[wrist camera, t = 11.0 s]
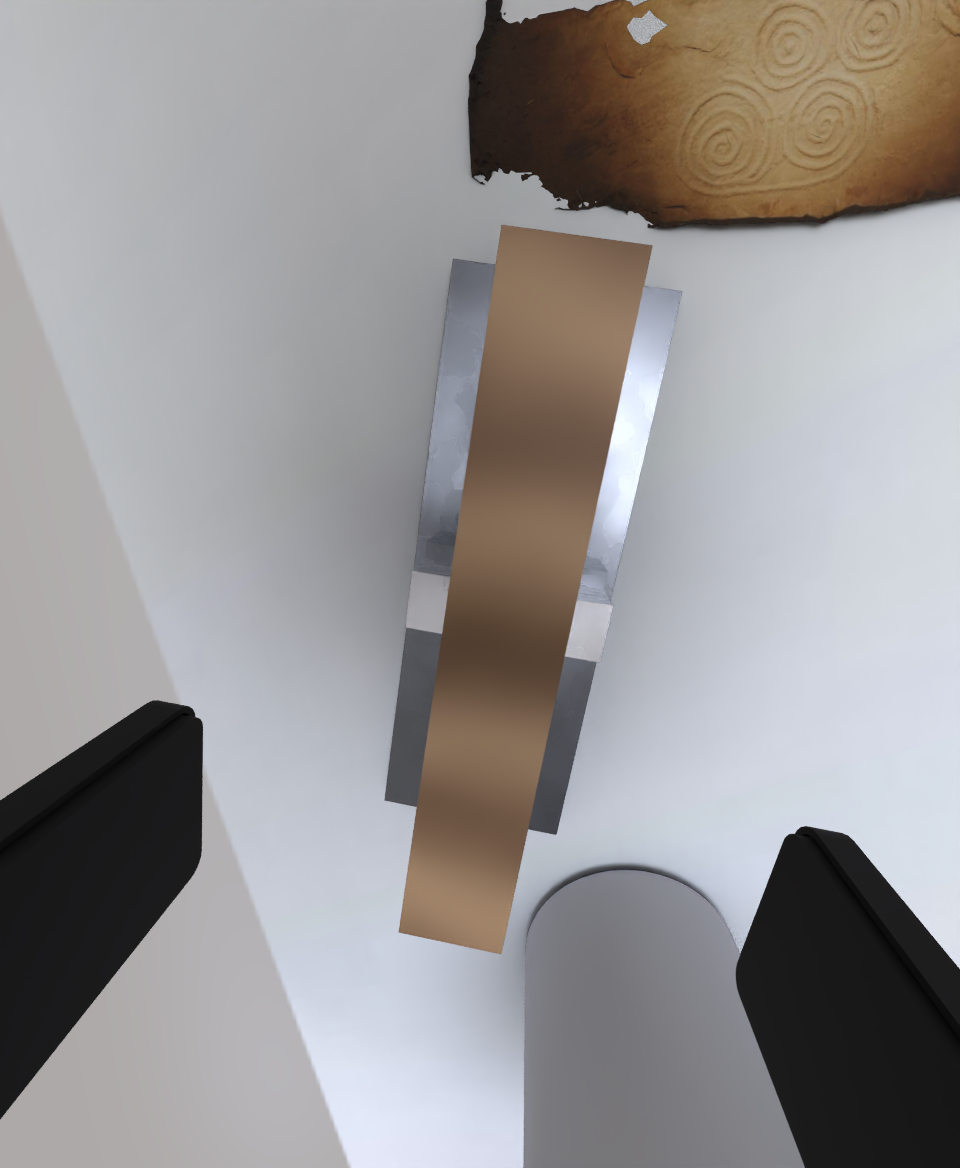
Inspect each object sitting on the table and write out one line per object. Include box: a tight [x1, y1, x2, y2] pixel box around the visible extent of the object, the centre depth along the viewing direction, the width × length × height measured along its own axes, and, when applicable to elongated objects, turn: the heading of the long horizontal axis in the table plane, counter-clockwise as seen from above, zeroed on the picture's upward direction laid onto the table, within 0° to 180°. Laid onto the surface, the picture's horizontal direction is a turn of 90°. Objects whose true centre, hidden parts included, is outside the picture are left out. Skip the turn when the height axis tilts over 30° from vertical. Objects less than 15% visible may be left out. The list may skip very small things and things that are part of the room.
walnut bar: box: [399, 225, 652, 954], centre depth 18 cm, size 24×4×4 cm, turn 171°
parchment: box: [468, 0, 960, 228], centre depth 21 cm, size 25×10×1 cm, turn 90°
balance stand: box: [385, 259, 682, 835], centre depth 24 cm, size 28×10×7 cm, turn 171°
